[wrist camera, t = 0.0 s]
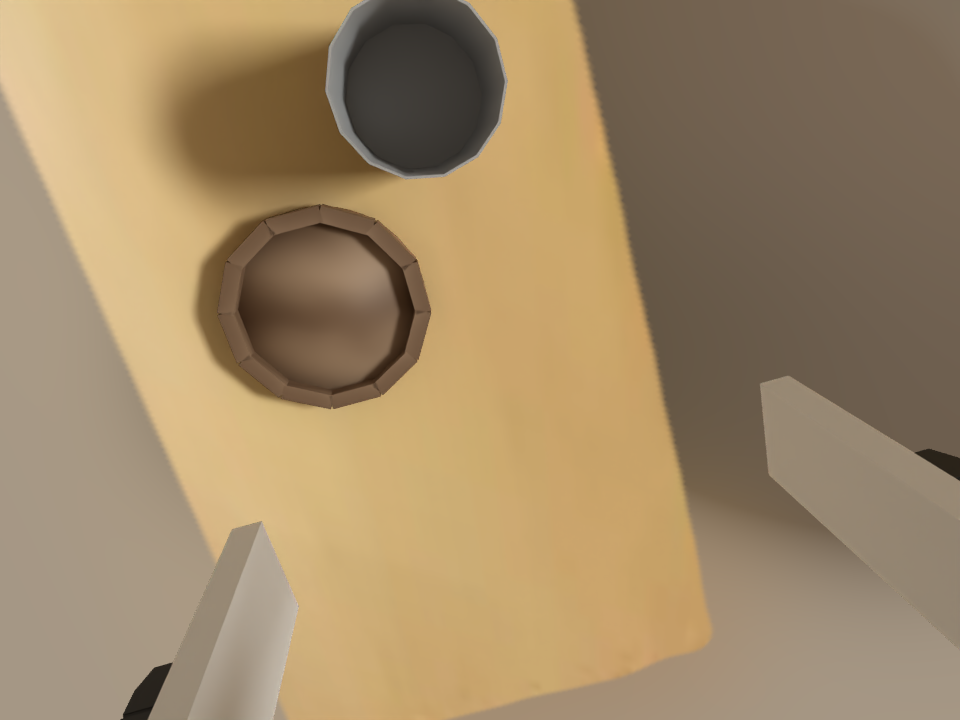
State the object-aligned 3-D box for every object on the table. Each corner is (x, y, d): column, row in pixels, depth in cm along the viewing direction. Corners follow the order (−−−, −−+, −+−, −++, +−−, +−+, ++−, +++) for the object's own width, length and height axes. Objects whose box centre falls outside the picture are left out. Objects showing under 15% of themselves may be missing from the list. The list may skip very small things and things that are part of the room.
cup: (431, 196, 41) (440, 213, 31) (319, 117, 38) (291, 110, 29) (508, 80, 39) (541, 62, 30) (394, -10, 37) (391, -61, 27)
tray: (196, 236, 40) (186, 240, 38) (395, 183, 40) (395, 185, 38) (269, 417, 44) (263, 428, 43) (448, 368, 45) (449, 377, 43)
